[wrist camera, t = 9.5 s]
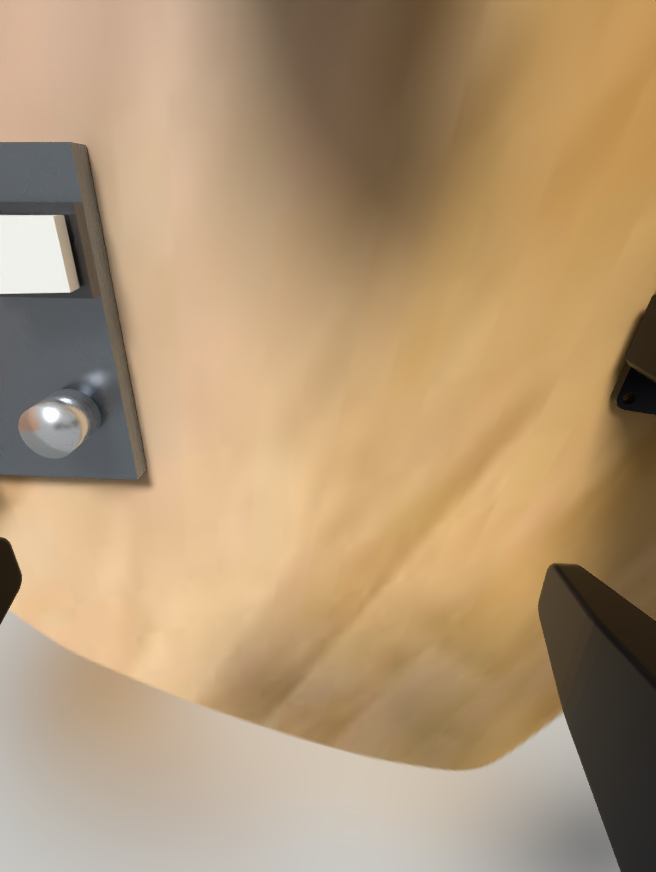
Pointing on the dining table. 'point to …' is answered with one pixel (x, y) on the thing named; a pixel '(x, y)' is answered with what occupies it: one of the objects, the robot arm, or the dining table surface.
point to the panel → (64, 324)
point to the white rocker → (36, 255)
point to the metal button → (59, 423)
